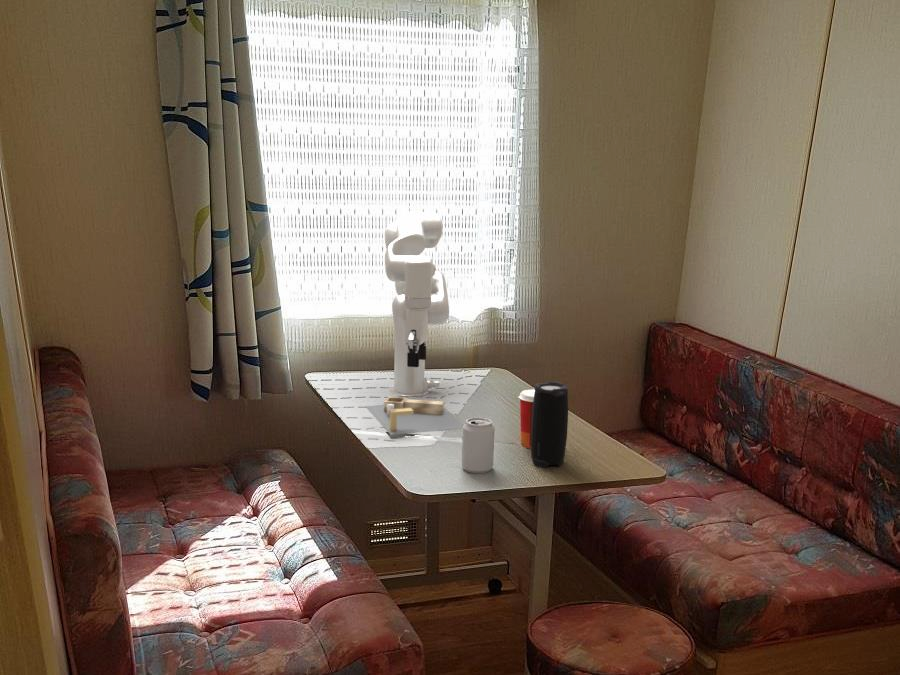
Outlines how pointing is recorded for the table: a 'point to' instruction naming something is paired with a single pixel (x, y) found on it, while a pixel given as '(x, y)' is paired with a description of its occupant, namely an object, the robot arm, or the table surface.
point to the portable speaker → (549, 424)
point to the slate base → (412, 421)
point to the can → (478, 445)
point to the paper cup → (526, 416)
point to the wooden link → (416, 405)
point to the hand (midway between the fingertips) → (416, 363)
